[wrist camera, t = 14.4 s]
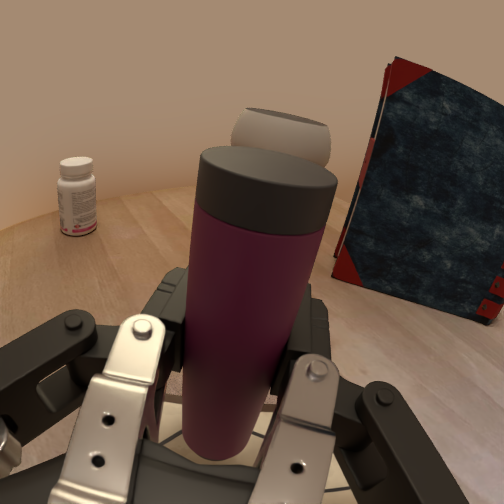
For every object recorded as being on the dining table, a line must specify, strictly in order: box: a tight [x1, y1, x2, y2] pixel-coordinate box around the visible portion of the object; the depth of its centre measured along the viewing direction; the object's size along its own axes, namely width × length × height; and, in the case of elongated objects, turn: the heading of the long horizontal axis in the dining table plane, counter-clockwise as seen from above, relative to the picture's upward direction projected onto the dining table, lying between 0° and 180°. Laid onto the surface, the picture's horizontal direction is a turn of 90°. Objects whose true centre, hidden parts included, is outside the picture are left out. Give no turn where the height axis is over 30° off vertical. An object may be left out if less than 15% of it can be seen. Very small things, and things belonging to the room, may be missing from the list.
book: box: [331, 56, 504, 325], centre depth 29 cm, size 25×7×25 cm, turn 74°
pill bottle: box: [57, 157, 97, 236], centre depth 32 cm, size 5×5×8 cm
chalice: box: [231, 108, 331, 168], centre depth 44 cm, size 14×14×15 cm
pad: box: [67, 394, 358, 504], centre depth 13 cm, size 13×18×1 cm
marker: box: [182, 146, 338, 461], centre depth 10 cm, size 3×3×12 cm
